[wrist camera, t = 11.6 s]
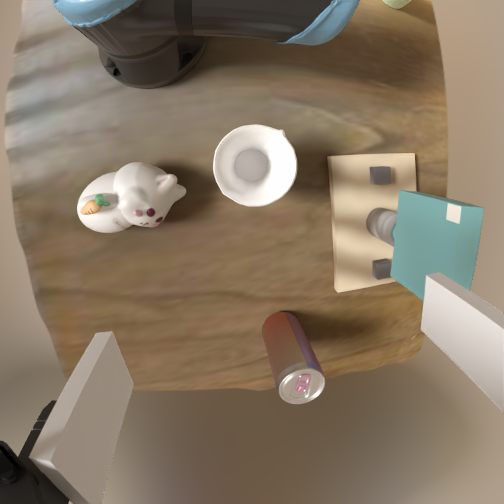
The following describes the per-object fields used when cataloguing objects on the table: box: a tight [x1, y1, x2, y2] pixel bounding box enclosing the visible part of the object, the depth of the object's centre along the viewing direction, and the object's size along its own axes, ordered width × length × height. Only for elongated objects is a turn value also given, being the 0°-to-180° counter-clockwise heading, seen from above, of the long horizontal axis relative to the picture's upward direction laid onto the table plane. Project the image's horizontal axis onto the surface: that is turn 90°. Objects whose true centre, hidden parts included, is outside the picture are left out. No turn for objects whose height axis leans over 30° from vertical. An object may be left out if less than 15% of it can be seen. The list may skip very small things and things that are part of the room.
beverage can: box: [262, 312, 325, 404], centre depth 42 cm, size 6×6×15 cm
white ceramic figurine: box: [77, 162, 186, 233], centre depth 37 cm, size 10×8×15 cm
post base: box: [327, 153, 416, 293], centre depth 42 cm, size 20×14×8 cm
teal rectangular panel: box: [390, 190, 484, 301], centre depth 32 cm, size 3×11×13 cm, turn 0°
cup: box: [213, 124, 297, 206], centre depth 37 cm, size 9×9×10 cm
